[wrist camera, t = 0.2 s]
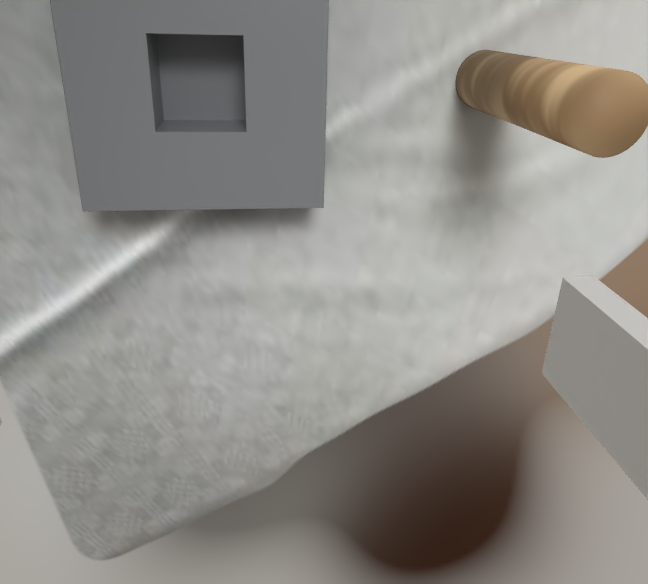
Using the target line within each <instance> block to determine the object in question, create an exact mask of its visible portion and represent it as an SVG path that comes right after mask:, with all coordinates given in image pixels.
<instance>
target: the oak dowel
mask: <svg viewBox="0 0 648 584" xmlns="http://www.w3.org/2000/svg"><path fill="white" fill-rule="evenodd" d="M456 89H457V93H458V95H459V97H460V98H461V100H462V101H463V102H464V103H465V104H467V105H468V106H470V107H473V108H475V109H478V110H480V111H483V112H485V113H488V114H490V115H493V116H495V117H498V118H500V119H503V120H505V121H507V122H510V123H512V124H515V125H517V126H520V127H522V128H525V129H527V130H530V131H532V132H535V133H537V134H539V135H542V136H544V137H547V138H549V139H552V140H554V141H557V142H559V143H562V144H564V145H567V146H569V147H572V148H574V149H576V150H579V151H581V152H584V153H586V154H589V155H591V156H594V157H602V158H604V157H611V156H615V155H618V154H620V153H622V152H624V151H625V150H627V149H628V148H630V147H631V146H632V145H633V144H634V143H636V142H637V140H638V139H639V138H640V137H641V136H642V134H643V133H644V131H645V129H646V127H647V125H648V84H647V83H646V82H645V80H644V79H643V78H642V77H640V76H639V75H637V74H635V73H633V72H629V71H624V70H617V69H611V68H604V67H597V66H591V65H584V64H577V63H571V62H564V61H557V60H551V59H544V58H537V57H531V56H524V55H517V54H511V53H504V52H497V51H490V50H482V51H478V52H475V53H473V54H471V55H470V56H469V57H467V58H466V59H465V60H464V62H463V63H462V64H461V66H460V68H459V70H458V73H457V77H456Z"/></svg>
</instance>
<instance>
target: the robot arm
mask: <svg viewBox="0 0 648 584" xmlns="http://www.w3.org/2000/svg"><path fill="white" fill-rule="evenodd" d="M542 374H543V375H544V376H545V377H546V379H547V380H548V381H549V382H550V383H551V385H552V386H553V387H554V388H555V389H556V391H557V392H558V393H559V394H560V395H561V397H562V398H563V399H564V400H565V401H566V403H567V404H568V405H569V406H570V407H571V409H572V410H573V411H574V412H575V413H576V415H577V416H578V417H579V418H580V419H581V420H582V422H583V423H584V424H585V425H586V426H587V428H588V429H589V430H590V431H591V432H592V434H593V435H594V436H595V437H596V438H597V440H598V441H599V442H600V443H601V444H602V446H603V447H604V448H605V449H606V450H607V452H608V453H609V454H610V455H611V456H612V458H613V459H614V460H615V461H616V462H617V463H618V465H619V466H620V467H621V468H622V469H623V471H624V472H625V473H626V474H627V475H628V477H629V478H630V479H631V480H632V481H633V483H634V484H635V485H636V486H637V487H638V489H639V490H640V491H641V492H642V493H643V494H644V496H645V497H646V498H647V499H648V318H646V317H645V316H644V315H643V314H641V313H640V312H639V311H637V310H636V309H635V308H634V307H632V306H631V305H630V304H628V303H627V302H626V301H624V300H623V299H622V298H621V297H619V296H618V295H617V294H616V293H614V292H613V291H612V290H610V289H609V288H608V287H607V286H605V285H604V284H603V283H601V282H600V281H599V280H597V279H596V278H595V277H594V276H581V277H565V278H563V280H562V284H561V289H560V293H559V298H558V302H557V307H556V311H555V316H554V320H553V325H552V329H551V334H550V338H549V343H548V347H547V352H546V356H545V361H544V365H543V370H542ZM1 423H2V422H1V419H0V425H1Z"/></svg>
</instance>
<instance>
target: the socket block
mask: <svg viewBox="0 0 648 584" xmlns="http://www.w3.org/2000/svg"><path fill="white" fill-rule="evenodd" d="M50 4H51V11H52V17H53V23H54V30H55V36H56V42H57V49H58V55H59V62H60V68H61V74H62V81H63V87H64V93H65V100H66V106H67V113H68V119H69V125H70V132H71V138H72V145H73V151H74V157H75V164H76V170H77V176H78V183H79V189H80V196H81V202H82V208H83V211H141V210H207V209H274V208H324V170H325V130H326V89H327V49H328V9H329V0H50Z"/></svg>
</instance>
